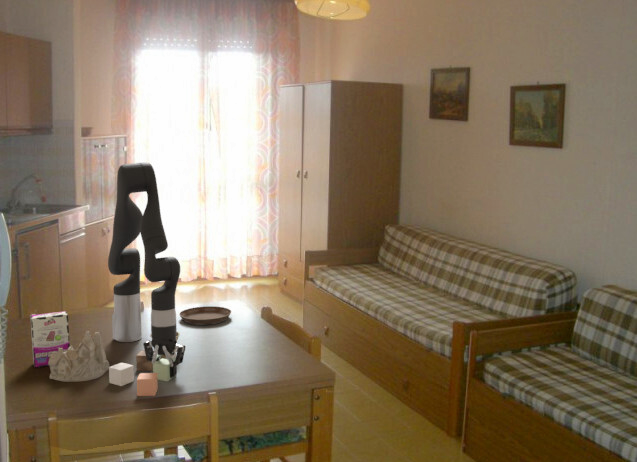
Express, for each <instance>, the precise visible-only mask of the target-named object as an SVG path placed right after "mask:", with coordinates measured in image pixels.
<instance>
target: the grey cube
mask: <svg viewBox="0 0 637 462" xmlns="http://www.w3.org/2000/svg"><path fill="white" fill-rule="evenodd" d="M134 368H135V367H134V364H129V363H125V362H119V363H117V364H113V365H111V366H110V367H109V369H108V376H109V377H108V378H109V381H108V382H109V384H113V385H116V386H119V387H123V386H126V385H127V384H130V383H133V382H134V381H135V380H134V379H135V377H134V376H135V371H134V370H135V369H134Z"/></svg>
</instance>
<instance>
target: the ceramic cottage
mask: <svg viewBox="0 0 637 462" xmlns="http://www.w3.org/2000/svg"><path fill="white" fill-rule="evenodd" d="M103 346H104V345H103V339H102V336H101V332H100V331H95V332H94V336H93V338H92V334H91V331H89V330H87V331H85V334H84V338H82V339H81V342H80V343H79V344H78V347H77V348H76V349H75V348H74V347H73V345H70V347H69V348H68V350H67V351H65V352H63V348H59V349H58V353H55V352H52V353H51V357H50V359H49V362H48V365H50V366H49V369H50V373H49V379H50V380H55V381H60V382H64V383H65V382H67V383H68V382H69V383H70V382H71V383H72V382H87V381H91V380H95V379H98V378H100V377H102V376H104V374H105V373H107V371H109V367H111V366H110V362H109V361H108V360H107V355H106V352H105V350H104V347H103Z"/></svg>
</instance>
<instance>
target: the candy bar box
mask: <svg viewBox="0 0 637 462" xmlns="http://www.w3.org/2000/svg"><path fill="white" fill-rule="evenodd" d="M29 317H30V318H29V319H30V329H31V332H30V333H31V334H30V335H31V343H32V344H31V347H32V348H31V349H32V360H33V361H32V363H33V367H34V368H35V367H38V368H44V367H43V366H45V367H50V365H48V362H49V359H50V357H51V353H52V352H55V353H58V349H59V348H63V352H65V351H67V350H68V348H69V347H70V346H71V344H70V331H69V330H70V328H69V314H68V312H67V311H58V312H57V311H56V312H48V313H41V314H40V313H39V314H30V316H29Z"/></svg>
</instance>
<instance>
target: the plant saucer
mask: <svg viewBox="0 0 637 462" xmlns="http://www.w3.org/2000/svg"><path fill="white" fill-rule="evenodd" d="M231 314H232V310H231V309H229V308H226V307H224V306H223V307H222V306H213V305H212V306H207V305H206V306H197V307H190V308H187V309H184V310H181V311H180V312H179V316H180V318H181V319H182V321H184V323H187V324H190V325H194V326H196V325H197V326H211V325H216V324H220V323H223V322H225V321H226V320H227V319H228V318H229V317H230V315H231Z"/></svg>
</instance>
